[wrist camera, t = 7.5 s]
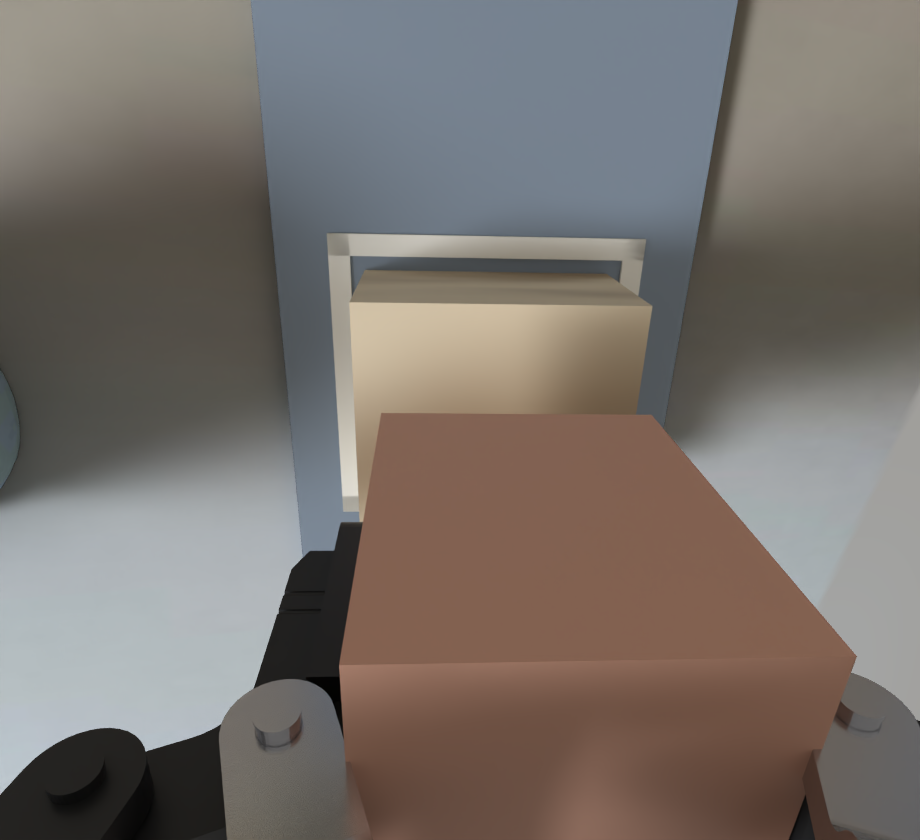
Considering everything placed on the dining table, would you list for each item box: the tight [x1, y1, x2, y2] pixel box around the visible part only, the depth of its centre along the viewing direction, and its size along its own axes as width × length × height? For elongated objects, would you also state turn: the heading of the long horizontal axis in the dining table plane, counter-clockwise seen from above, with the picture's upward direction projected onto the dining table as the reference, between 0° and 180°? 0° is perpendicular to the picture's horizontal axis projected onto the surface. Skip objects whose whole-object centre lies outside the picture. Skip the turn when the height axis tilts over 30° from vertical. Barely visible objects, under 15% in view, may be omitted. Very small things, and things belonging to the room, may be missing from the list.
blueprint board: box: [251, 0, 738, 557], centre depth 17 cm, size 25×12×1 cm, turn 179°
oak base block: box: [349, 270, 652, 522], centre depth 17 cm, size 7×7×4 cm
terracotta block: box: [339, 413, 857, 840], centre depth 10 cm, size 5×5×6 cm
